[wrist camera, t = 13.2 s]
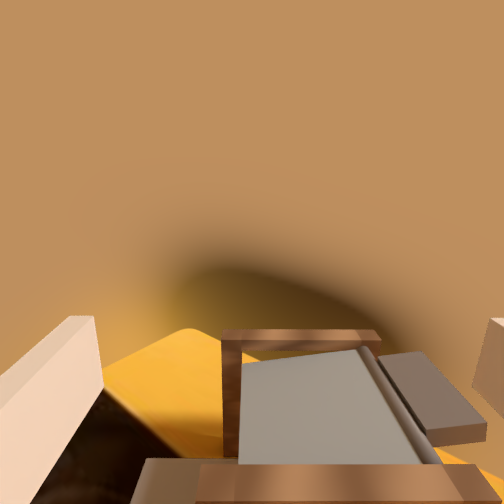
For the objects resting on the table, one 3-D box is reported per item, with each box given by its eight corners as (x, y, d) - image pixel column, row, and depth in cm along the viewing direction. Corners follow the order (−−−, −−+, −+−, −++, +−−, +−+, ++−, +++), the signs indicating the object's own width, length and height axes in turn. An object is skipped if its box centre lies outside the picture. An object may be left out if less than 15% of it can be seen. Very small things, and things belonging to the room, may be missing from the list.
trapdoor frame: (205, 668, 20) (195, 501, 16) (225, 441, 36) (222, 329, 32) (447, 667, 20) (502, 500, 16) (358, 441, 36) (373, 329, 32)
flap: (240, 500, 19) (236, 481, 19) (243, 373, 31) (241, 360, 30) (509, 470, 19) (512, 449, 18) (410, 352, 30) (410, 338, 30)
